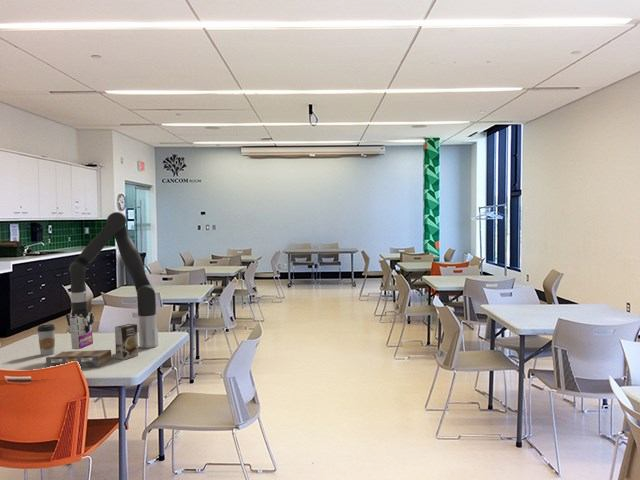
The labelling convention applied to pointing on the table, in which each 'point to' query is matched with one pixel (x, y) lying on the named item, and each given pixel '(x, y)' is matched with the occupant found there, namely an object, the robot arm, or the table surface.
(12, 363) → the table surface
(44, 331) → the coffee cup
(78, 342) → the candy bar box
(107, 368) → the table surface
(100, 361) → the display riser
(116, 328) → the coffee box
